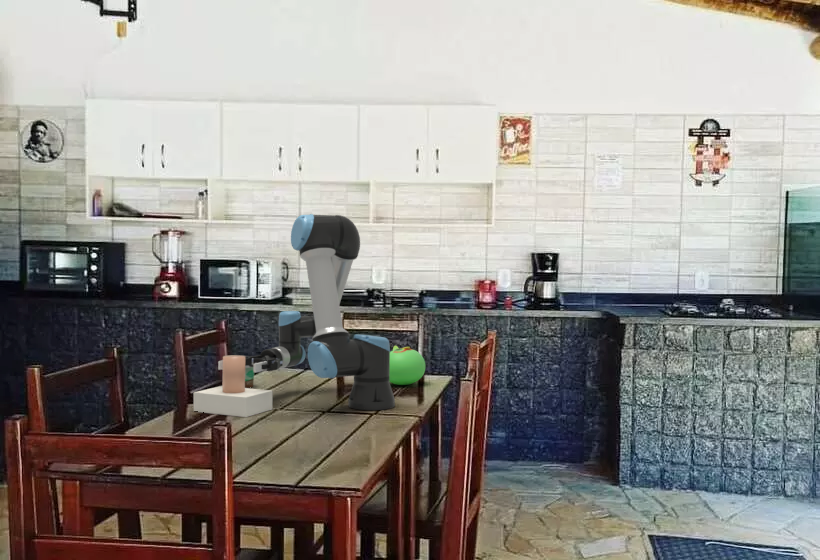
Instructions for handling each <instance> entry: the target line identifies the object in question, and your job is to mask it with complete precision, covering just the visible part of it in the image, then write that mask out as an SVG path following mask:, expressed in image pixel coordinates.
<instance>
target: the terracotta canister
mask: <svg viewBox="0 0 820 560" xmlns="http://www.w3.org/2000/svg"><path fill="white" fill-rule="evenodd" d="M245 357H246V355H239V354H234V355H223V356H222V360H223V369H222V381H221V382H222V385H221V386H222V392H225V393H242V392H245Z"/></svg>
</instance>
